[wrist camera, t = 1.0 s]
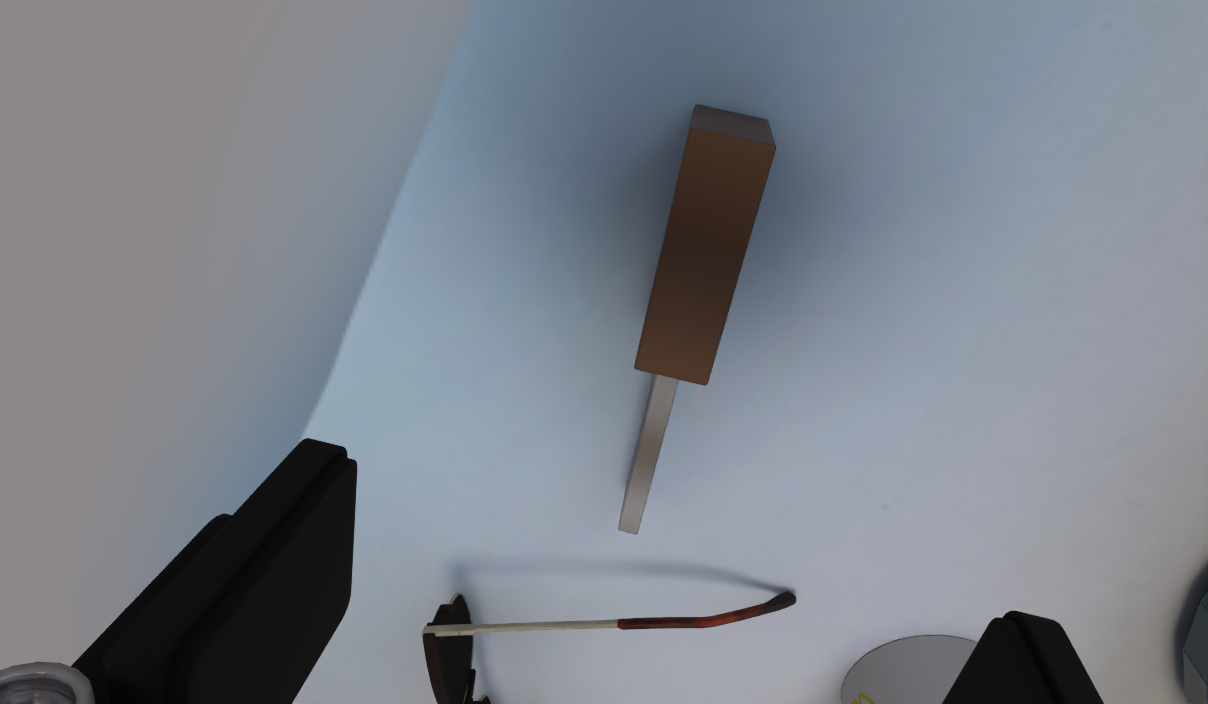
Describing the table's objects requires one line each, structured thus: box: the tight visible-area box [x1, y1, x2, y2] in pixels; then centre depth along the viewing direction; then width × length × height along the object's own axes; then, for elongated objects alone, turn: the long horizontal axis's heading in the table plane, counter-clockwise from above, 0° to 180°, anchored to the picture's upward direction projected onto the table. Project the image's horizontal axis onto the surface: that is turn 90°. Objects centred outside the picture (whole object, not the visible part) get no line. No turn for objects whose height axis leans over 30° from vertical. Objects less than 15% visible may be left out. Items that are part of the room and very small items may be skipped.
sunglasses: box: [422, 591, 796, 704], centre depth 36 cm, size 14×16×5 cm
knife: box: [618, 105, 776, 534], centre depth 27 cm, size 16×2×4 cm, turn 169°
